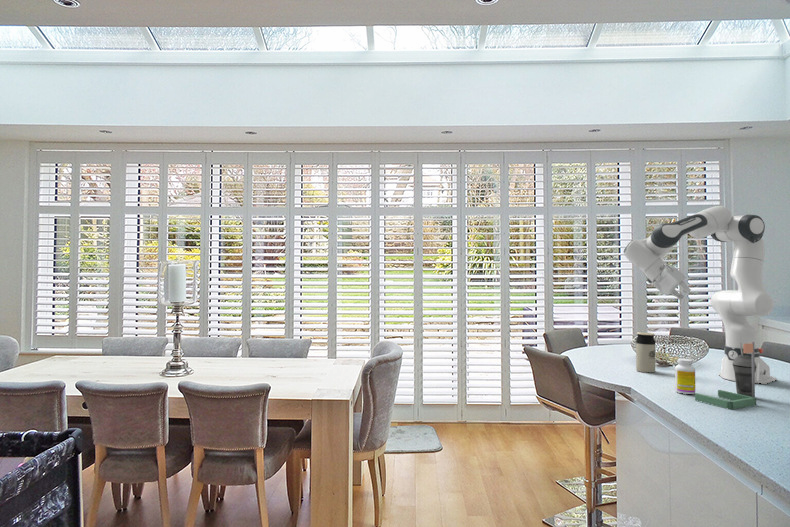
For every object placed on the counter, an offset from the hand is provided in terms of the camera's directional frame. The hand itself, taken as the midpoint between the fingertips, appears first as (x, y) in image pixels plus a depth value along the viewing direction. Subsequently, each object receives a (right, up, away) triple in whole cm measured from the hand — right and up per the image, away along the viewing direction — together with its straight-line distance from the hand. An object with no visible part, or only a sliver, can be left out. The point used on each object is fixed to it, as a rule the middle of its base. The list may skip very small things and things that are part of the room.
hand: (685, 295), depth 187 cm
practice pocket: (0, -37, -22) cm, 43 cm away
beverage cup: (+14, -37, -13) cm, 42 cm away
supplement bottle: (-6, -37, -9) cm, 39 cm away
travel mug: (+1, -38, +31) cm, 49 cm away
